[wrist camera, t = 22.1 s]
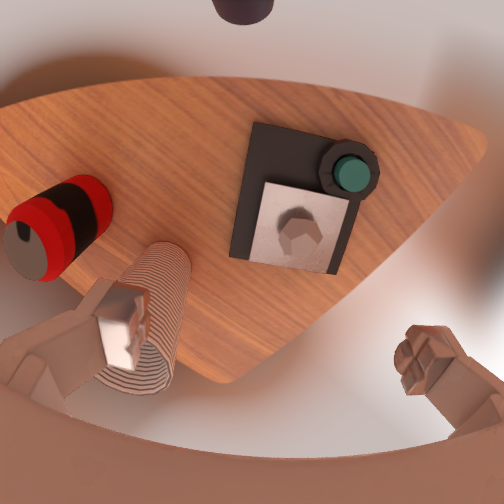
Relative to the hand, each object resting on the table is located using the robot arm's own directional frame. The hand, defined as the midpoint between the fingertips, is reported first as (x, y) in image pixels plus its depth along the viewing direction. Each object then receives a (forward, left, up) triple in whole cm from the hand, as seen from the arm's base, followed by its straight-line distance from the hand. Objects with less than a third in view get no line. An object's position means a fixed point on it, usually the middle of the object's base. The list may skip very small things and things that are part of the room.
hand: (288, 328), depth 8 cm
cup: (+12, -9, -23) cm, 28 cm away
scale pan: (+4, +4, -20) cm, 21 cm away
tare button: (-2, +7, -20) cm, 22 cm away
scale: (+2, +4, -23) cm, 23 cm away
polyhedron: (+4, +4, -20) cm, 20 cm away
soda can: (+7, -19, -23) cm, 31 cm away
